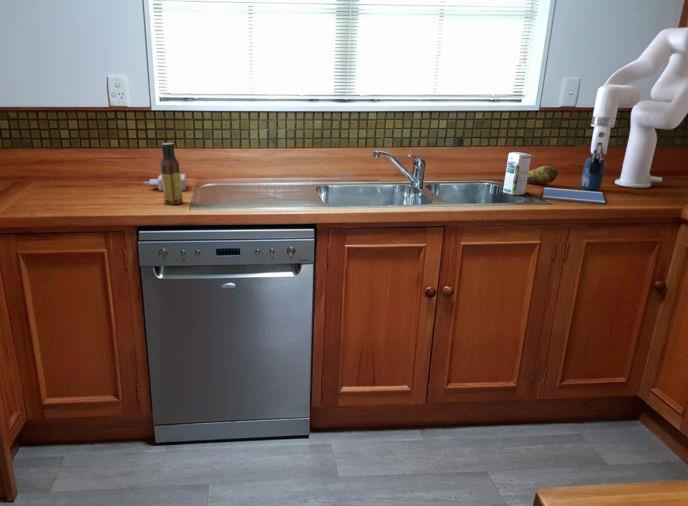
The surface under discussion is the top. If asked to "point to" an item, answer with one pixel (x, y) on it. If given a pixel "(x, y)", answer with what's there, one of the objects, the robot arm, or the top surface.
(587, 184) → the soda can
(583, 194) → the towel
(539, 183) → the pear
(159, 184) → the charger
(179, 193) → the sauce bottle
